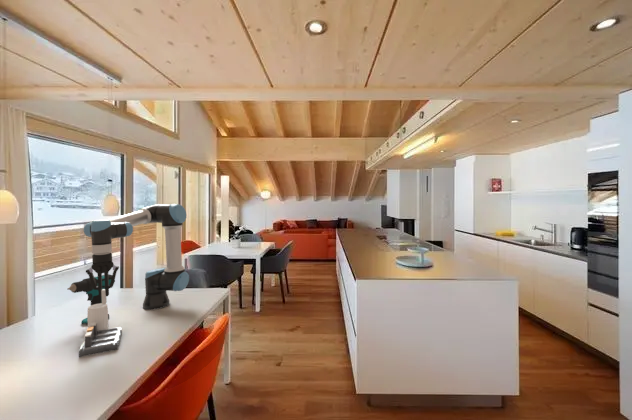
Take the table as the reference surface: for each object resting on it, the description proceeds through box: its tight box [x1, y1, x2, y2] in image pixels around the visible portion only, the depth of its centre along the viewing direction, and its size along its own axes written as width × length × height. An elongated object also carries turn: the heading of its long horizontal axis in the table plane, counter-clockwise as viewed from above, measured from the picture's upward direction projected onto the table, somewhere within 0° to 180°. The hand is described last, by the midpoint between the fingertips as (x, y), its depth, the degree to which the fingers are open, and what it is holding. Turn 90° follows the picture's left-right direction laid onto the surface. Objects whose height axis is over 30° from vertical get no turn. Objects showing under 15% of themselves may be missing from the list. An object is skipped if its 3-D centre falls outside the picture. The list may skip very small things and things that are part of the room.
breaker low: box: [91, 322, 97, 335], centre depth 147 cm, size 2×4×5 cm, turn 28°
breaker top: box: [84, 331, 93, 347], centre depth 135 cm, size 2×4×5 cm, turn 28°
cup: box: [86, 303, 109, 331], centre depth 154 cm, size 8×8×14 cm
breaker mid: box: [86, 326, 94, 341], centre depth 141 cm, size 2×4×5 cm, turn 27°
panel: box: [78, 326, 123, 358], centre depth 143 cm, size 14×20×3 cm
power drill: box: [67, 273, 116, 325], centre depth 169 cm, size 26×9×25 cm, turn 169°
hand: (104, 303), depth 143 cm, fingers closed
